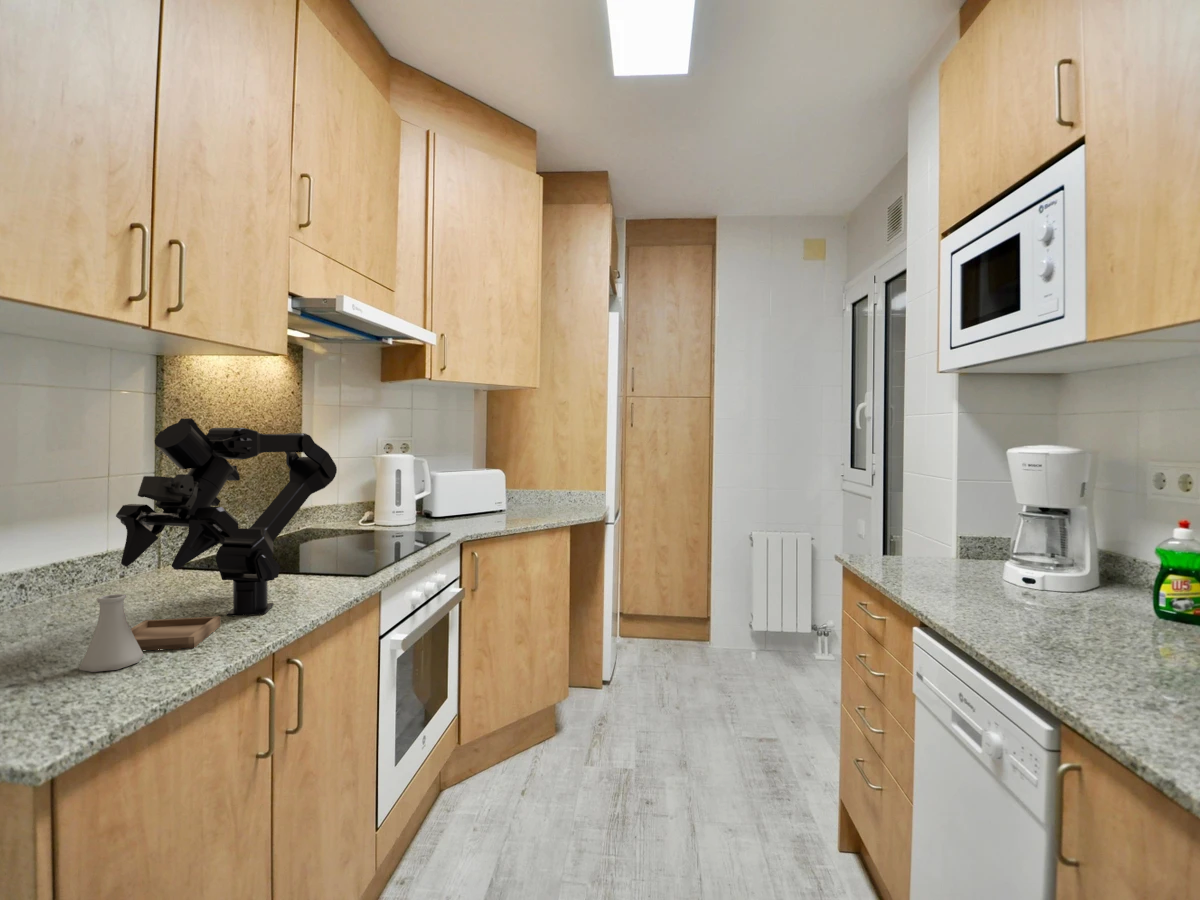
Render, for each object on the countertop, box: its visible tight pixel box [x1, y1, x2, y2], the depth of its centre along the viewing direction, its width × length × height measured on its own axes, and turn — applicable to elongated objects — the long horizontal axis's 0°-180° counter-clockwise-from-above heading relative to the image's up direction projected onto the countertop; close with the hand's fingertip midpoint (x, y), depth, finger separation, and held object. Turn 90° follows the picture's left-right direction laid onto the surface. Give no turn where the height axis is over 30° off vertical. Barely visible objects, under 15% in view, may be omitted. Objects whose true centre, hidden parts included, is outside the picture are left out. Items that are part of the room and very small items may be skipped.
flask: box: [78, 593, 145, 673], centre depth 92 cm, size 7×7×10 cm
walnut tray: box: [130, 615, 222, 651], centre depth 103 cm, size 12×12×2 cm
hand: (148, 566), depth 98 cm, fingers open, 9 cm apart
